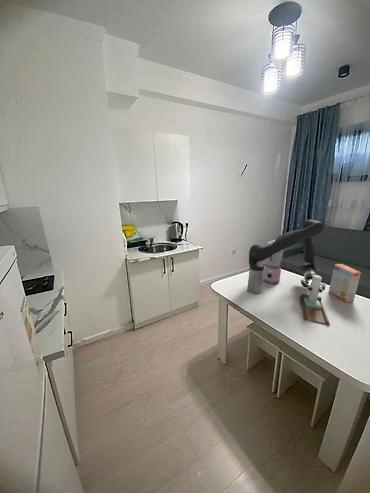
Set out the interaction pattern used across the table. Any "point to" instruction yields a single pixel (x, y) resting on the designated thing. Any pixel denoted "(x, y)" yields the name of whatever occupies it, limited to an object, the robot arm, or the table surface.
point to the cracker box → (344, 282)
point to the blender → (272, 267)
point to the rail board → (313, 311)
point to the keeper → (314, 293)
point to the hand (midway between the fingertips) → (315, 290)
